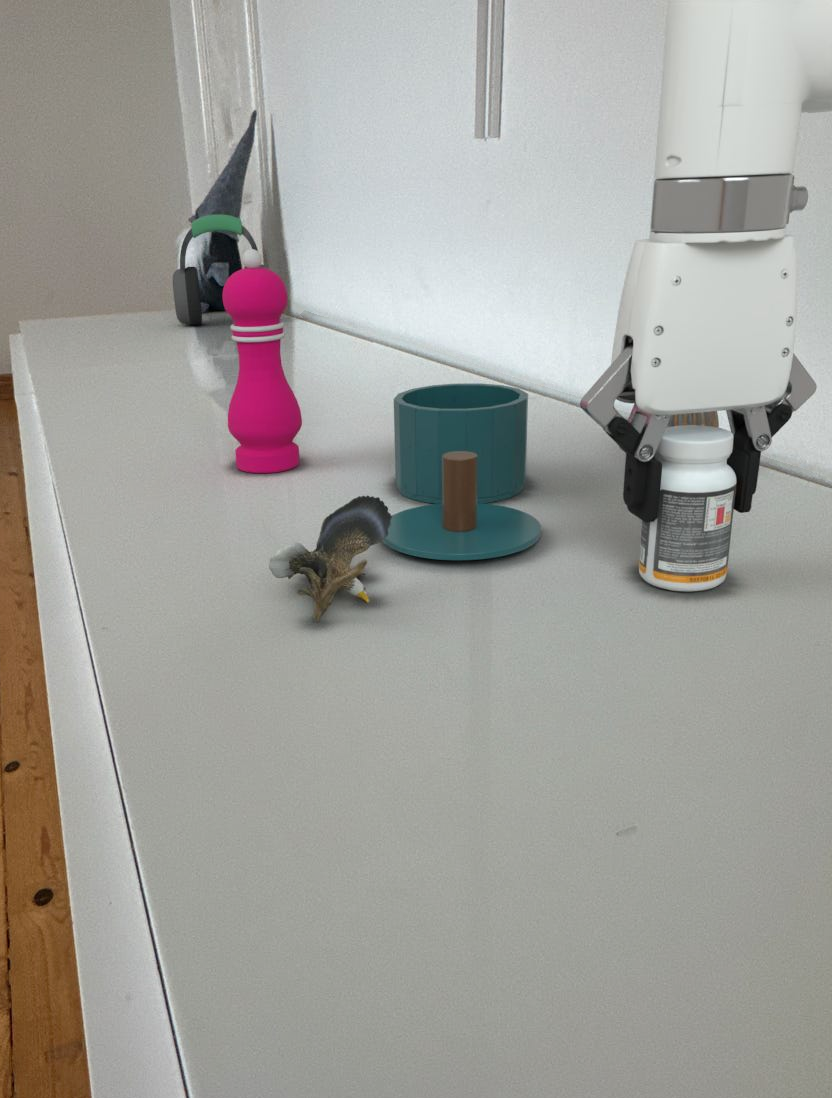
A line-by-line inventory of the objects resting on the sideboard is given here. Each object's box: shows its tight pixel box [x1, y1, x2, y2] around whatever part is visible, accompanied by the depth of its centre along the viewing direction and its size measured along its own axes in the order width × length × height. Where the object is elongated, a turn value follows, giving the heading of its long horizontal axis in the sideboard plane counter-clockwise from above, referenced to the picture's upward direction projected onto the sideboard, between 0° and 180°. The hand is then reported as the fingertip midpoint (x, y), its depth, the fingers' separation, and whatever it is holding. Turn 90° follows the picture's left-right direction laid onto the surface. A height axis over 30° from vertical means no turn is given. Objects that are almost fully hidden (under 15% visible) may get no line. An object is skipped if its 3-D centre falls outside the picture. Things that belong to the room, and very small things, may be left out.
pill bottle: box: [638, 425, 736, 593], centre depth 65 cm, size 6×6×10 cm
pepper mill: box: [222, 248, 303, 474], centre depth 95 cm, size 7×7×20 cm
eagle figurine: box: [268, 495, 392, 623], centre depth 66 cm, size 8×7×9 cm
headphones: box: [172, 213, 269, 326], centre depth 195 cm, size 19×11×20 cm, turn 97°
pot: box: [393, 382, 529, 504], centre depth 88 cm, size 11×11×8 cm
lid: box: [381, 451, 542, 561], centre depth 75 cm, size 12×12×7 cm
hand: (687, 508), depth 65 cm, fingers closed on pill bottle, 5 cm apart
